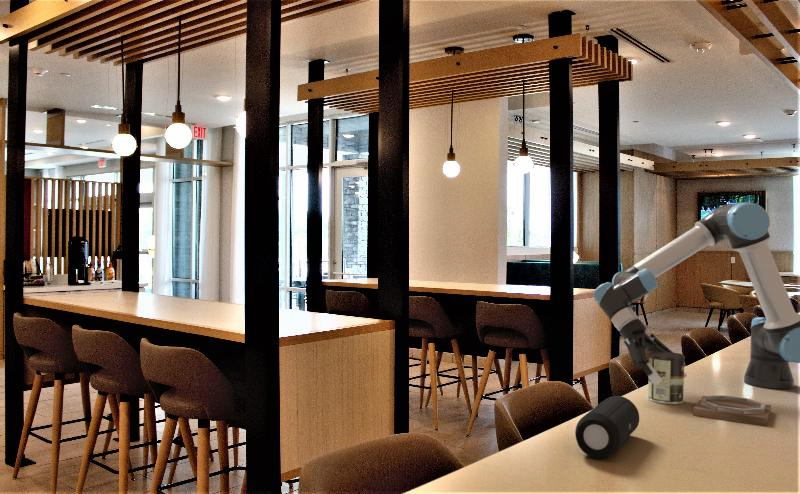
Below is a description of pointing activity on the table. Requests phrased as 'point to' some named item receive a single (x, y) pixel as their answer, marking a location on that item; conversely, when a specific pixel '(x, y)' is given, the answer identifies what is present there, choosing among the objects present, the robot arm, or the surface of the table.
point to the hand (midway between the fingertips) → (671, 380)
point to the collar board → (733, 409)
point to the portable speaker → (607, 426)
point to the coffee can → (667, 378)
